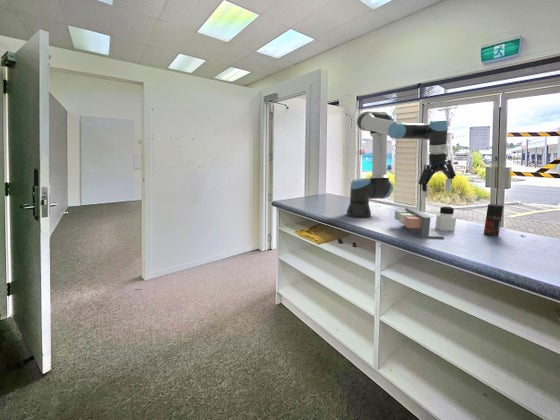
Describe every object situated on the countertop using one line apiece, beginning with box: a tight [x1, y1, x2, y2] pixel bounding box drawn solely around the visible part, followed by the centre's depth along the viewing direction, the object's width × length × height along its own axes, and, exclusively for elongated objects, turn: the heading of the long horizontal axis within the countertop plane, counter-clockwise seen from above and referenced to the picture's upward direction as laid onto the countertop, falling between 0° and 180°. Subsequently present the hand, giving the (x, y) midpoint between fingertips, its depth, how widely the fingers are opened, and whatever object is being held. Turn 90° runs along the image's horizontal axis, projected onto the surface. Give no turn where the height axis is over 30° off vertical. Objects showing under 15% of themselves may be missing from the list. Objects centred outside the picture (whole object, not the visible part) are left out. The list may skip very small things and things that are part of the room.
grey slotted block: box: [403, 207, 445, 240], centre depth 145 cm, size 10×25×10 cm, turn 175°
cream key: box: [398, 213, 416, 225], centre depth 145 cm, size 10×4×4 cm, turn 85°
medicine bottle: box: [435, 205, 457, 232], centre depth 150 cm, size 7×7×12 cm
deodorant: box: [483, 203, 504, 237], centre depth 139 cm, size 6×6×15 cm
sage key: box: [394, 209, 410, 221], centre depth 153 cm, size 10×4×4 cm, turn 85°
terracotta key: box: [404, 217, 422, 229], centre depth 138 cm, size 10×4×4 cm, turn 85°
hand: (436, 193), depth 146 cm, fingers open, 13 cm apart
